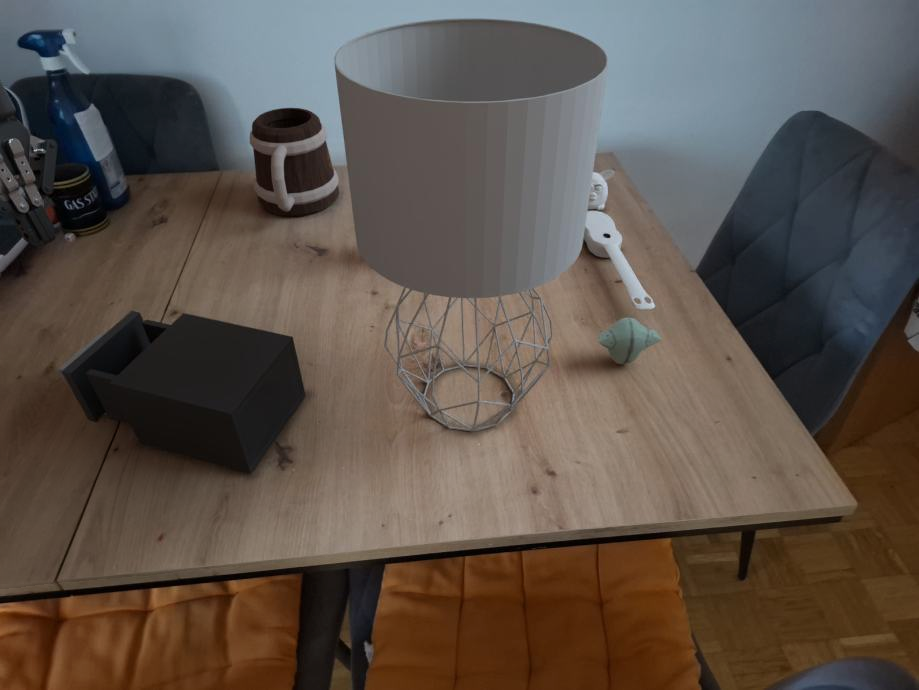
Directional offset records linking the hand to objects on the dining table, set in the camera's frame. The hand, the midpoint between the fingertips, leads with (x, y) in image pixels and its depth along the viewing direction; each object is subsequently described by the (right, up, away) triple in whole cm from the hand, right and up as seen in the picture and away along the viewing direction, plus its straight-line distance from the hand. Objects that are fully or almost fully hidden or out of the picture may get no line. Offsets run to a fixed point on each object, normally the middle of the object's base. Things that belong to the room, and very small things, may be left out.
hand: (44, 242), depth 69 cm
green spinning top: (+66, -13, +15) cm, 69 cm away
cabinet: (+17, -20, +7) cm, 27 cm away
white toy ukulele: (+69, +1, +31) cm, 76 cm away
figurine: (+68, +15, +47) cm, 84 cm away
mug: (+15, +14, +47) cm, 51 cm away
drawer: (+8, -17, +9) cm, 21 cm away
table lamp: (+46, -17, +10) cm, 50 cm away
